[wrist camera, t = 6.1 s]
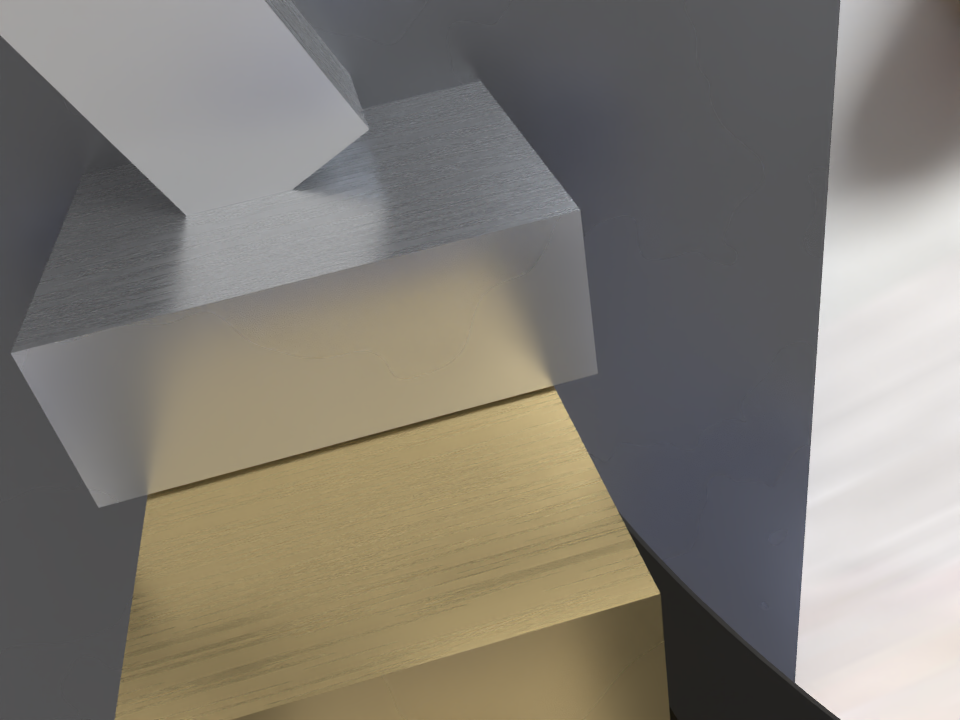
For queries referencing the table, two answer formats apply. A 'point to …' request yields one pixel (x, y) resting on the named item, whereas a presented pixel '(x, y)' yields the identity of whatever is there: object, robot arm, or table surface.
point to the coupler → (399, 583)
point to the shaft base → (656, 282)
